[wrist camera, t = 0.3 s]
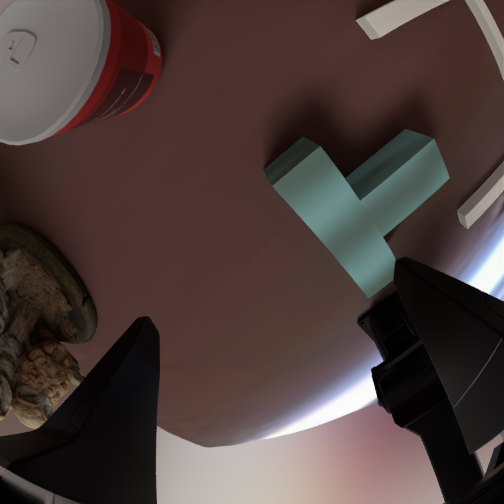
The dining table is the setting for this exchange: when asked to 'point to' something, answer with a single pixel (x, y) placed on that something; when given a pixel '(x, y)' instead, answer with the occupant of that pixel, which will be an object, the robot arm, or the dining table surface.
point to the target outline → (416, 3)
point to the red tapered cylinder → (71, 66)
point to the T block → (360, 199)
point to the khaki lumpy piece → (38, 325)
